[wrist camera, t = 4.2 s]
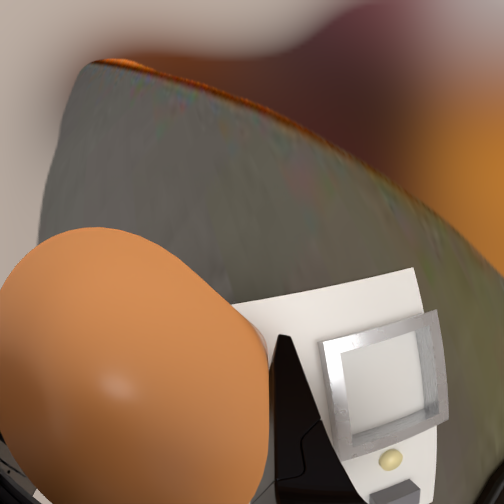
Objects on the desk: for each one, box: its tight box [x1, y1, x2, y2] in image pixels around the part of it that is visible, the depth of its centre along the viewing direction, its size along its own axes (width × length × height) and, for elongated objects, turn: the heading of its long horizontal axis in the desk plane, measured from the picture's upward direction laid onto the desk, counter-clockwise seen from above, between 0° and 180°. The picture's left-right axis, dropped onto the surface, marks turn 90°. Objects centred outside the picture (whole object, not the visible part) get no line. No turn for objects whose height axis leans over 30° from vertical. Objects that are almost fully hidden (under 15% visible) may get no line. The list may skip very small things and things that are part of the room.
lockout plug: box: [0, 227, 269, 504], centre depth 9 cm, size 4×4×13 cm
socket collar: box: [317, 309, 449, 462], centre depth 14 cm, size 8×8×2 cm
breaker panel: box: [231, 268, 437, 504], centre depth 14 cm, size 20×20×3 cm
